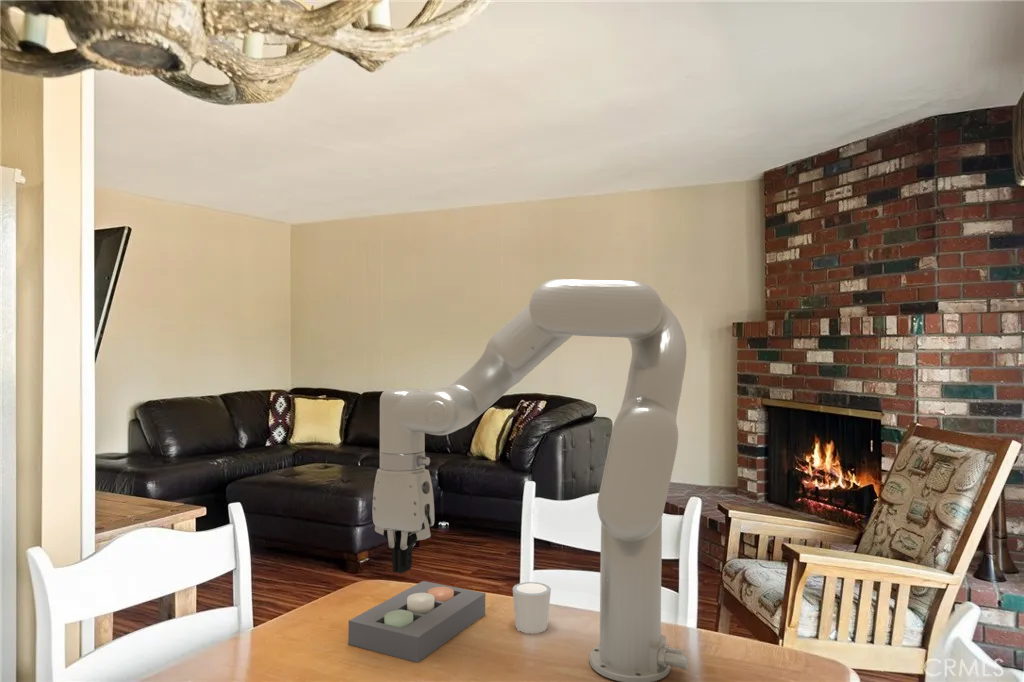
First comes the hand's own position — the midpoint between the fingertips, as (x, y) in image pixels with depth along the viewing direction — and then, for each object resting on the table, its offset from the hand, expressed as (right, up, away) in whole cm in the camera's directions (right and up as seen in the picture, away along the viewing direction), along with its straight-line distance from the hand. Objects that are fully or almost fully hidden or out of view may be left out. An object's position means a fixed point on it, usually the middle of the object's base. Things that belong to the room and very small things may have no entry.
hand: (402, 570), depth 116 cm
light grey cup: (+22, -13, +7) cm, 26 cm away
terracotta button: (+5, -12, +11) cm, 17 cm away
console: (+2, -12, +6) cm, 14 cm away
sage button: (-1, -11, 0) cm, 11 cm away
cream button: (+2, -11, +6) cm, 12 cm away
